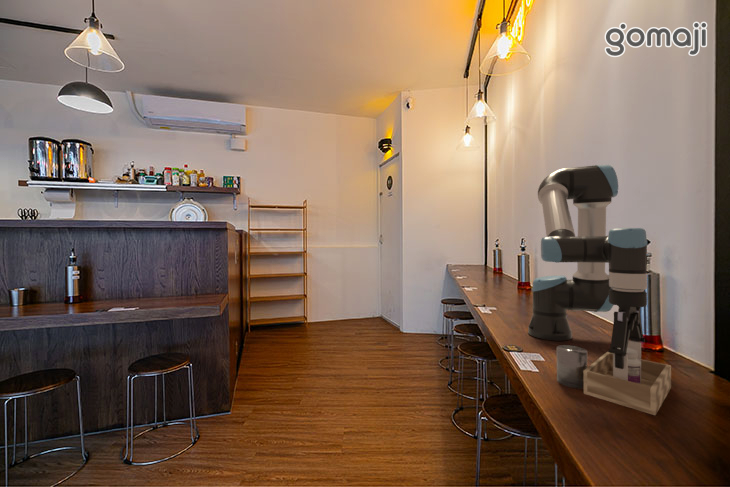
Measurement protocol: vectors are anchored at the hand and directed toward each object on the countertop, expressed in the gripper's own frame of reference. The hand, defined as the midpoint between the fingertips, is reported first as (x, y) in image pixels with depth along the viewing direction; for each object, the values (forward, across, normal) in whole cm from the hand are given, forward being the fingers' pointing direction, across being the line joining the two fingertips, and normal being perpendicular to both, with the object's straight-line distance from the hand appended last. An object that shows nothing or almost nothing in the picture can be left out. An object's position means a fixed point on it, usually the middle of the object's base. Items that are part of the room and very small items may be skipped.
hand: (627, 373), depth 83 cm
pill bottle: (+4, 0, 0) cm, 4 cm away
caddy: (+4, 0, 0) cm, 4 cm away
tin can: (+5, +5, -11) cm, 13 cm away
